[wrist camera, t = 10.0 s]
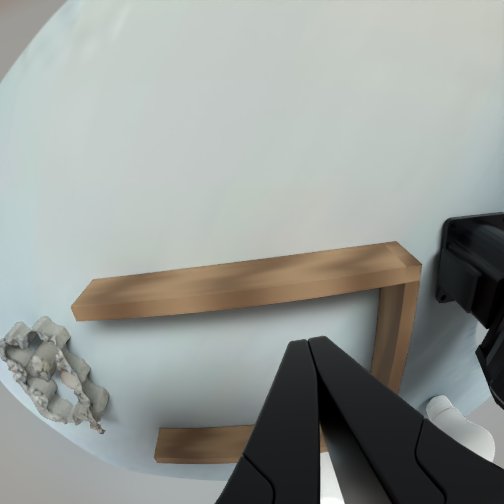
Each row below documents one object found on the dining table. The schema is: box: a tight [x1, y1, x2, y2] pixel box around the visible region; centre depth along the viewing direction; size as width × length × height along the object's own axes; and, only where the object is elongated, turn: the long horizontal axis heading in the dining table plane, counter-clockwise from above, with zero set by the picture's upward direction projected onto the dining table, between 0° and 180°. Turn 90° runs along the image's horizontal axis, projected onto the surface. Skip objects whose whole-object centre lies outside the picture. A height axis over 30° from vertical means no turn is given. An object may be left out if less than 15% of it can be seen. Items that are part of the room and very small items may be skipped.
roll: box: [320, 452, 345, 504], centre depth 22 cm, size 6×12×6 cm
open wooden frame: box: [71, 241, 422, 464], centre depth 21 cm, size 20×17×4 cm
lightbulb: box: [426, 395, 495, 462], centre depth 21 cm, size 6×6×11 cm
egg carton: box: [0, 316, 109, 434], centre depth 21 cm, size 11×8×4 cm
